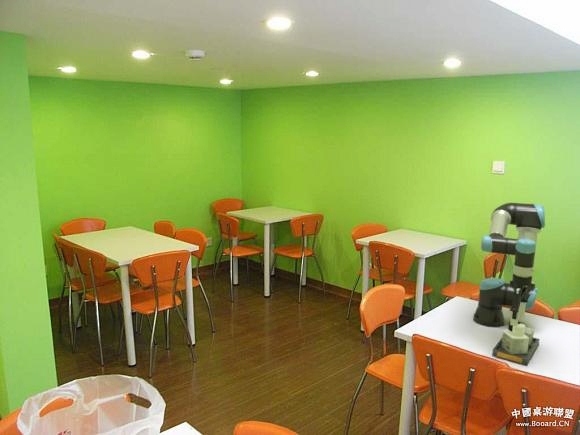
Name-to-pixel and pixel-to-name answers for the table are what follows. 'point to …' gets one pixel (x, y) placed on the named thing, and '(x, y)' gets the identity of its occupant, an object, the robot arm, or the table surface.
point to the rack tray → (516, 358)
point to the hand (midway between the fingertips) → (517, 320)
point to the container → (515, 339)
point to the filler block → (529, 334)
